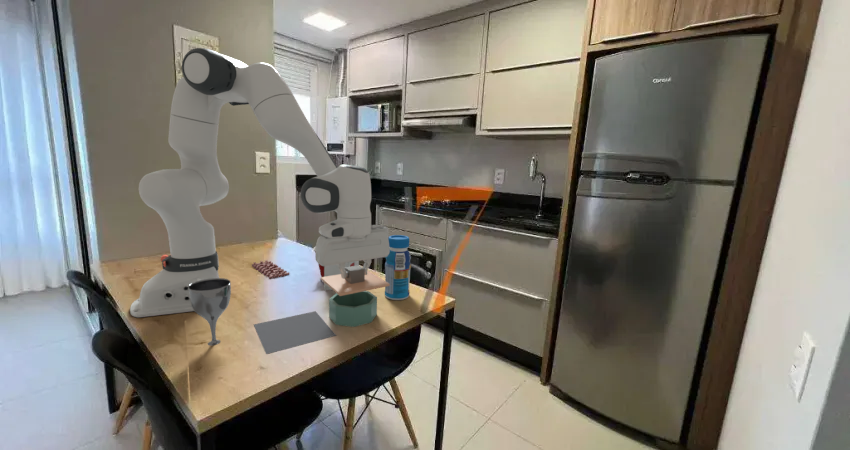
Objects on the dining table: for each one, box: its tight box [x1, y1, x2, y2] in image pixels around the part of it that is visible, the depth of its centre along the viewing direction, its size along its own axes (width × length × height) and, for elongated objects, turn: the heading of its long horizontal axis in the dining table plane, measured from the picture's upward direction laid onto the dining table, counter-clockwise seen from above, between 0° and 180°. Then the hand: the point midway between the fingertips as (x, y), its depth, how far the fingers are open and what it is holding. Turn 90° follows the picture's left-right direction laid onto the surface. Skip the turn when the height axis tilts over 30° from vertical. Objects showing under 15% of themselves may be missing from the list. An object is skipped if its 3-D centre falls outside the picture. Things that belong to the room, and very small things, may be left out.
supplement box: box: [323, 261, 360, 291], centre depth 116 cm, size 9×9×15 cm
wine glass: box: [188, 277, 232, 347], centre depth 77 cm, size 8×8×15 cm
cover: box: [320, 264, 390, 296], centre depth 93 cm, size 14×14×4 cm
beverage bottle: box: [384, 234, 412, 301], centre depth 111 cm, size 8×8×20 cm
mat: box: [253, 310, 337, 355], centre depth 86 cm, size 16×16×1 cm
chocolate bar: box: [251, 259, 290, 280], centre depth 132 cm, size 7×19×2 cm, turn 45°
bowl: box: [328, 290, 378, 328], centre depth 95 cm, size 12×12×6 cm
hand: (354, 276), depth 93 cm, fingers closed on cover, 4 cm apart
